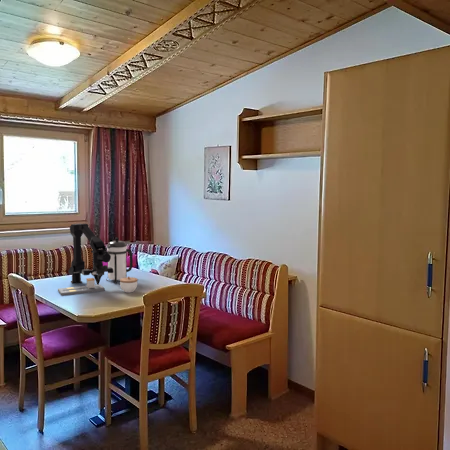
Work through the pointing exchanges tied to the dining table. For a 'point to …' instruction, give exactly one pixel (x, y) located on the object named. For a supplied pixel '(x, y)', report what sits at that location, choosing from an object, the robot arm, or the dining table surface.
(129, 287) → the lidded jar
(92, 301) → the dining table surface
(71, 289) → the console board
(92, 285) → the block
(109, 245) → the coffee press
